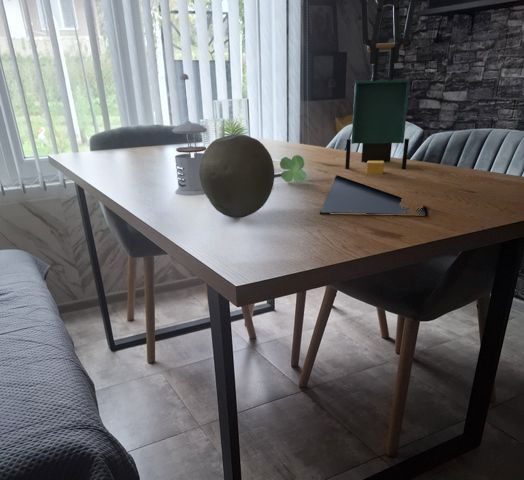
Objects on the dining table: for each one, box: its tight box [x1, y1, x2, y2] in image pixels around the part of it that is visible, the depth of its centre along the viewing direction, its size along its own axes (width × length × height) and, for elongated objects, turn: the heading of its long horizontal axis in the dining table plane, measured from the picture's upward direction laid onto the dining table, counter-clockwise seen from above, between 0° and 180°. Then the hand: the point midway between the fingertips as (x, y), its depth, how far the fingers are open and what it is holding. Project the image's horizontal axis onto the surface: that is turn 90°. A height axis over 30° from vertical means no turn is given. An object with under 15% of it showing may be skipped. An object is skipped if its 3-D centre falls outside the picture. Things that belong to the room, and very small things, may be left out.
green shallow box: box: [351, 42, 411, 145], centre depth 119 cm, size 22×13×5 cm
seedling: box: [279, 154, 308, 183], centre depth 127 cm, size 7×8×7 cm
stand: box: [344, 137, 410, 170], centre depth 132 cm, size 14×16×9 cm
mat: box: [319, 174, 427, 216], centre depth 110 cm, size 40×20×1 cm, turn 168°
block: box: [366, 161, 385, 175], centre depth 122 cm, size 4×4×4 cm
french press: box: [171, 73, 208, 196], centre depth 113 cm, size 10×12×25 cm
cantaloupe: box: [199, 133, 275, 219], centre depth 90 cm, size 14×14×15 cm
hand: (382, 80), depth 112 cm, fingers open, 3 cm apart
